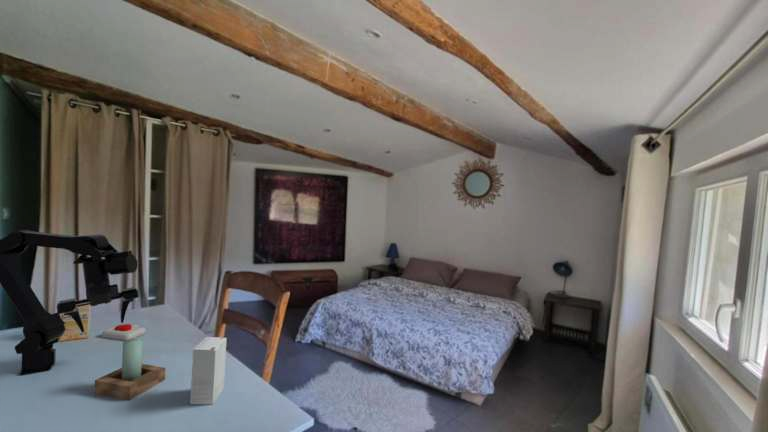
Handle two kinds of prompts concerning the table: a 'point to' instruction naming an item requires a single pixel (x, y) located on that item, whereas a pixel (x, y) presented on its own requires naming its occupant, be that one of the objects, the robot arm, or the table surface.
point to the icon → (124, 332)
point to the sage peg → (131, 359)
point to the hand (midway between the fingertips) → (103, 327)
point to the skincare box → (208, 370)
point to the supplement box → (72, 328)
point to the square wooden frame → (129, 382)
